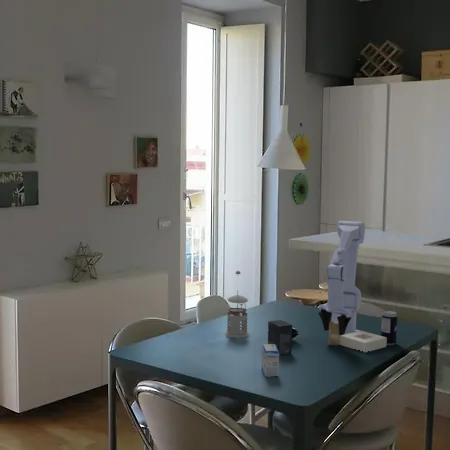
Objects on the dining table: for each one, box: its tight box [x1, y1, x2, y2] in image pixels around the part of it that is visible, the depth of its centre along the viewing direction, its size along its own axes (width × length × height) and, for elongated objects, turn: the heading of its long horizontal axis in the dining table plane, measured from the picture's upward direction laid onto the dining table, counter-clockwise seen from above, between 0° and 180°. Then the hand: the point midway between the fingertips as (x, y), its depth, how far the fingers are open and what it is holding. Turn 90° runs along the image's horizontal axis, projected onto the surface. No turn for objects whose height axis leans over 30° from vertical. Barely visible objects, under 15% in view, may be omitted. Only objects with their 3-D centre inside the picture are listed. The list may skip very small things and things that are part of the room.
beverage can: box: [380, 310, 398, 346], centre depth 262 cm, size 6×6×12 cm
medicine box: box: [261, 343, 280, 378], centre depth 226 cm, size 8×4×9 cm, turn 5°
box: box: [267, 319, 293, 356], centre depth 250 cm, size 8×6×11 cm
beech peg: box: [328, 321, 340, 347], centre depth 261 cm, size 4×4×8 cm
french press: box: [224, 270, 250, 339], centre depth 272 cm, size 10×12×25 cm
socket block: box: [339, 330, 387, 353], centre depth 259 cm, size 12×12×4 cm
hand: (334, 332), depth 260 cm, fingers open, 7 cm apart
